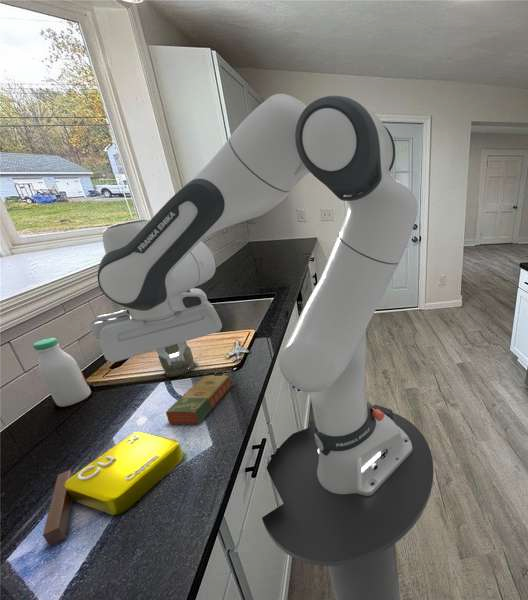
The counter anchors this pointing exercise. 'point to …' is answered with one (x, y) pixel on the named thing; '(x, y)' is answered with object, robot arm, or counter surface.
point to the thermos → (177, 367)
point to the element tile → (124, 472)
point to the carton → (198, 400)
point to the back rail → (58, 511)
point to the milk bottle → (60, 373)
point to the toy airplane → (237, 351)
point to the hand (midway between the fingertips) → (176, 362)
